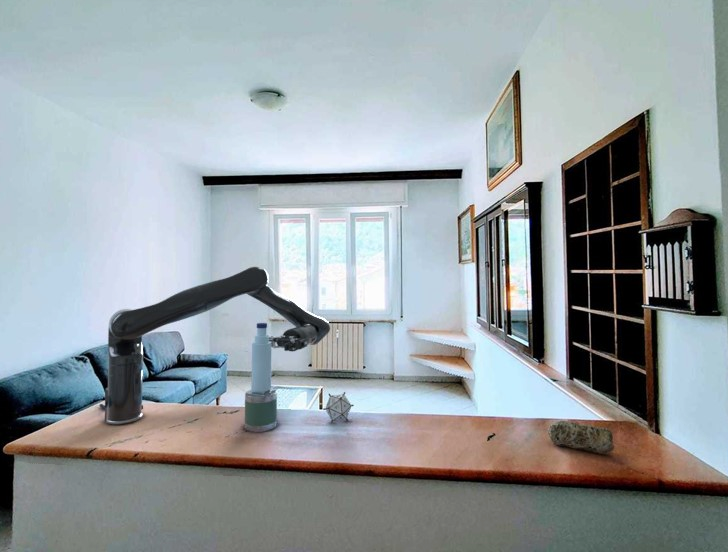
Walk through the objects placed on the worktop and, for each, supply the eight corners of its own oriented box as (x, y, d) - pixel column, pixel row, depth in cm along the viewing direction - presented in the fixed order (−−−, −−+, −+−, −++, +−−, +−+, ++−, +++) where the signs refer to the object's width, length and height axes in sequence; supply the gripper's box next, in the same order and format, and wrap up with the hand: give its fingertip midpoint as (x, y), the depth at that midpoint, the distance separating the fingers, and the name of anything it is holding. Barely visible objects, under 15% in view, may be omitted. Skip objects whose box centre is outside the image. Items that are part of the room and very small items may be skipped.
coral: (547, 446, 103) (546, 422, 103) (549, 438, 108) (549, 415, 108) (614, 460, 95) (613, 434, 95) (613, 450, 100) (613, 425, 101)
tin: (238, 429, 114) (238, 394, 114) (255, 418, 122) (256, 385, 123) (266, 433, 111) (266, 397, 111) (282, 422, 119) (282, 388, 120)
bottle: (247, 392, 115) (248, 324, 116) (258, 387, 121) (258, 321, 122) (264, 394, 114) (265, 325, 115) (274, 389, 119) (275, 322, 120)
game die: (342, 435, 119) (349, 415, 113) (316, 422, 121) (321, 402, 115) (353, 411, 126) (359, 391, 121) (328, 400, 128) (334, 380, 123)
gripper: (279, 326, 141) (253, 333, 126) (316, 328, 137) (293, 335, 121) (279, 347, 141) (253, 357, 126) (316, 350, 136) (293, 360, 121)
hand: (273, 346), depth 124 cm, fingers open, 8 cm apart
